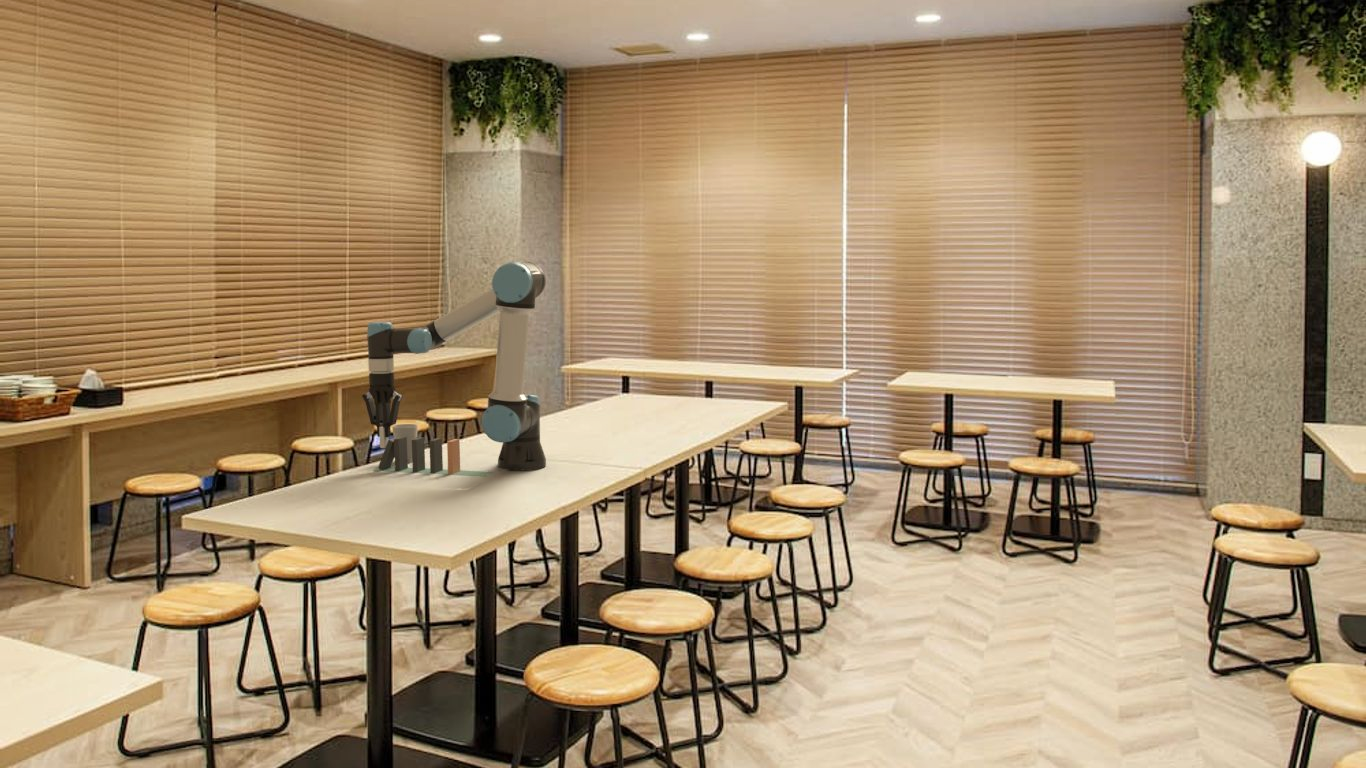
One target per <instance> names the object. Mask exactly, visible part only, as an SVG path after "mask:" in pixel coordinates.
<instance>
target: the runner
mask: <svg viewBox="0 0 1366 768" xmlns="http://www.w3.org/2000/svg"><path fill="white" fill-rule="evenodd" d="M370 471H373V472H388V473H389V472H390V473H392V472H393V473H404V474H405V473H407V474H409V473H410V474H426V475H427V474H429V475H445V476H447V475H448V476H464V477H465V476H466V477H481V478H482V477H486V476H488V475H492V474H494V471H481V470H479V471H478V470H461V469H460V471H459V472H457V473H454V474H448V469H445V468H443V470H442V471H439V472H437V473H430V468H426V467H425V469H424V470H422V471H419V472H413V467H408V468H407V469H405V470H402V471H395V466H391V467H390V468H387V469H385V470H381V469H379V468H378V467H377V468H374V469H372V470H370Z"/></svg>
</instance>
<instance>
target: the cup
mask: <svg viewBox="0 0 1366 768" xmlns="http://www.w3.org/2000/svg"><path fill="white" fill-rule="evenodd" d="M391 427H392V434H393V438H395V437H398V438H399V437H407V459H408V464H412V440H413V439H416V438H418V431H419V430H418V429H419V425H418V424H417V423H416V424H414V423H400V424H394V425H391Z"/></svg>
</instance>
